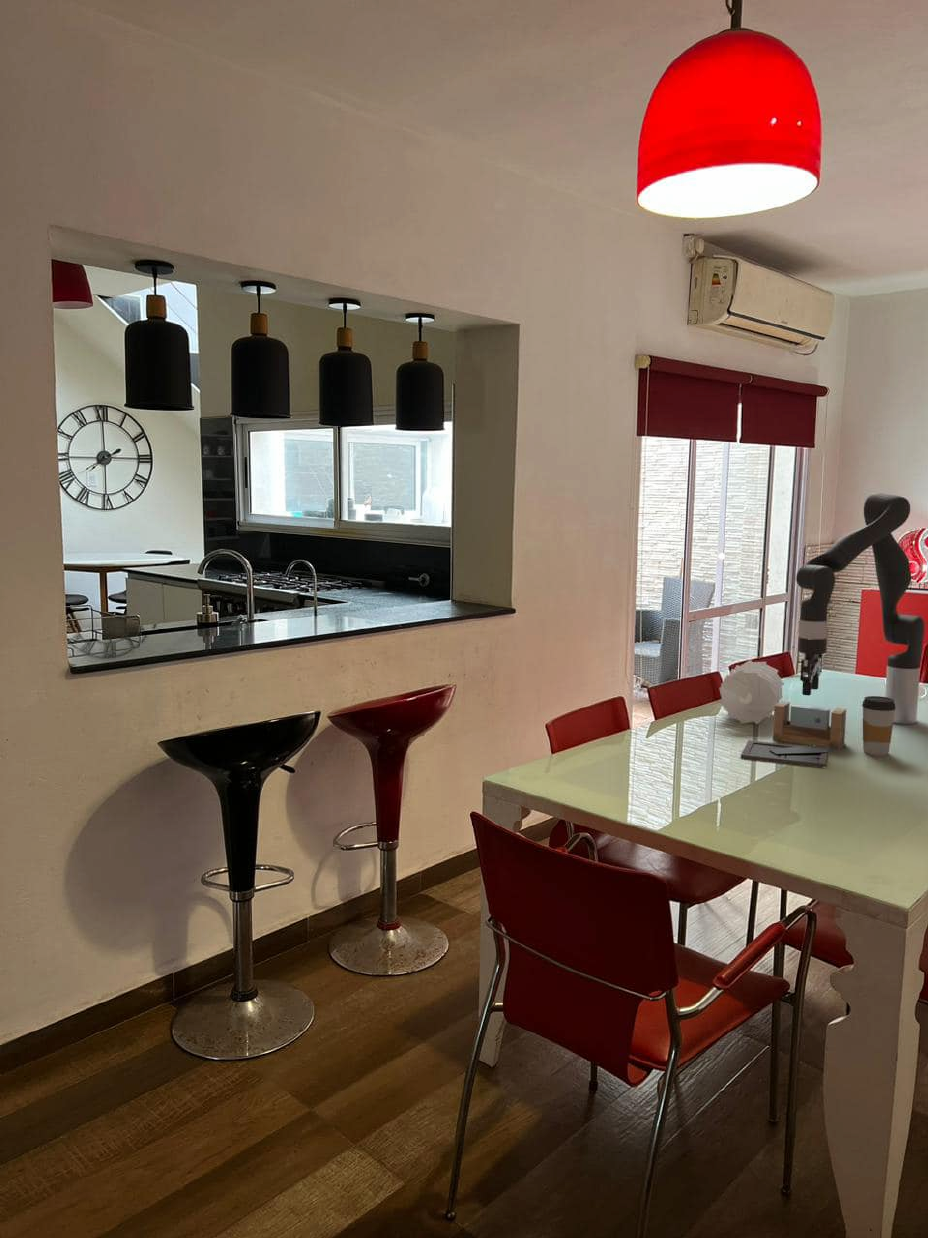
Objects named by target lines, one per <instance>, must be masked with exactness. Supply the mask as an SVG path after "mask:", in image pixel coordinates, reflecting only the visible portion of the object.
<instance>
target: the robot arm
mask: <svg viewBox="0 0 928 1238" xmlns="http://www.w3.org/2000/svg"><path fill="white" fill-rule="evenodd" d="M910 514H911V505H910V501H909V500H908V499H907V498H905V497H903V496H900V495H895V494H890V493H883V492H874V493H870V494H869V495H868V496H867V498H866V499H865V501H864V505H863V519H864V523H865V526H864V527H863V526H862V527H861V528H859V529H856V530H854V531H851V532H849V533H848V534H847V533H846V534H845V535H843V536H841V537H840V538H839V539H837V540H836V541H835V542H833V543H832V544H831V545H830V547H828V548H827V549H826V550H825V551H824V552H823V553H821V554H819V555H817V556H815V557H813V558H812V559H810V560H808V561H806V562H804V564H803V565H802V566H801V567H799V569H798V571H797V573H796V578H795V580H796V584H797V585H798V586H799V588H801V589H805V590H809V591H812V593H811V596H810V598H805V599H803V600H802V601H801V604H800V619H799V620H800V621H799V625H798V641H797V642H798V644H797V645H798V646H797V650H798V652H799V653H801V654H805V656H804V658H802V659H801V661H800V663H801V664H800V677H799V681H801V682H802V689H801V690H802V691H801V693H802V695H803V696H811V695H812V690H815V691H816V690H818V689H819V683H820V682H819V681H820V679H819V678H820V676H821V673H823V670H822V669H823V668H822V665H823V654H826V653H827V651H828V650H827V646H828V610H829V609H828V606H829V604H830V601H831V598H832V595H833V592H834V589H835V585H836V576H835V573H839V572H842V571H843V570H845V568H846V567H847V566H849V565H851V563H852V562H853V561H854V560H855V559H856V558H857V557H858V556H860V555H861V554H862V553H864V551H866V550H867V549H869V548H870V547H871V549H872V552H873V553H872V554H873V559H874V564H875V565H874V566H875V574H876V579H877V584H878V590H879V595H880V602H881V611H882V612H881V614H882V630H883V631H882V632H883V636H884V639H885V640H886V642H887V643H890V644H895V645H904V646H907V647H906V650H905V651H903V652H901V653H896V654H892V655H891V654H890V655H889V656H888V657H887V660H886V661H887V662H886V675H885V676H886V677H885V678H886V680H885V691H884V692H885V694H884V695H885V696H884V697H887V698H891V699H893V700H894V703H895V708H896V709H895V712H894V719H893V724H902V725H905V724H908V725H909V724H916V723H917V718H918V717H917V716H918V705H919V703H918V701H919V687H920V672H921V663H922V654H923V653H922V652H923V643H924V638H925V630H926V629H925V627H926V626H925V625H926V624H925V620H924V618H923V617H922V616H920V615H912V614H909V615H908V614H900V613H898V609H897V606H898V604H899V602H900V600H901V598H902V597H903V595H904V594H905V593H906V592H907V591H908V588H909V587H910V584H911V583H912V582H911V581H912V571H911V566H910V561H909V558H908V556H907V553H906V552H905V551H904V549H903V548H902V547H901V545H900V544H899V542H898V541H897V540H896V539H895V538H894V536H893V532H894V531H896V530H898V529H900V528H901V526H903V525H904V524H905V523H906V522H907V520H908V519H909V517H910Z"/></svg>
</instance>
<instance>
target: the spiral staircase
mask: <svg viewBox="0 0 928 1238" xmlns="http://www.w3.org/2000/svg"><path fill="white" fill-rule="evenodd" d="M778 672H779V670H778V669H776V668H774V667H772V666H770V665H768V664H767V661H756V662H755V661H754V662H753V660H752V659H749V660H748V661H746V662H744V663H743V664H741V665H738V664H736V666H735V667H734V669H732V668H731V670H730V672H729V674H726V675H725V678H724V679H723V681H722V682H721V684H720V687H719V692H720V697H721V701H720V702H719V704H720V705H721V706H722V708H724V710H726V711H727V714H726V715H727V717H729V718H732V719H735V720H738V721H740V724H748V723H749V724H750V723H753V722H754V723H755V725H758V724H759V723H760V722H761V721H763V720H764V719H765V718H771V715H772V714H773V713H774V706H775V705H776V704H778V703H779V702H780V700H781V699H783V686H785V682H784V680H782V679H781V677H780V676H779V674H778ZM781 701H782V700H781Z"/></svg>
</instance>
